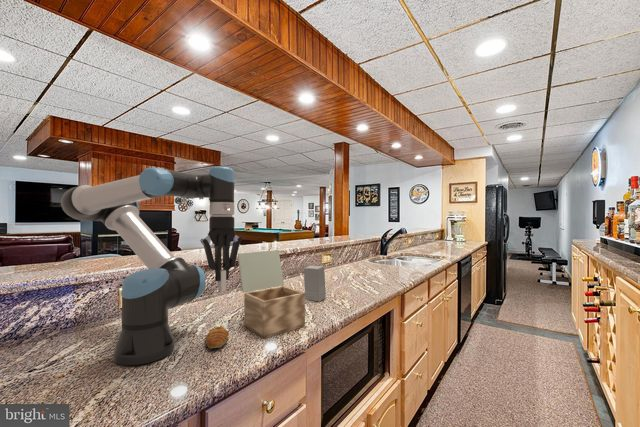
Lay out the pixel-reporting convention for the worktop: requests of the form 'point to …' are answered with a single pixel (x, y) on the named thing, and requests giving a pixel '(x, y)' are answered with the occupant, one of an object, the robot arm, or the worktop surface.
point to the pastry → (216, 337)
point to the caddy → (274, 311)
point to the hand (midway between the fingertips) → (222, 290)
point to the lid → (260, 270)
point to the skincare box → (314, 283)
